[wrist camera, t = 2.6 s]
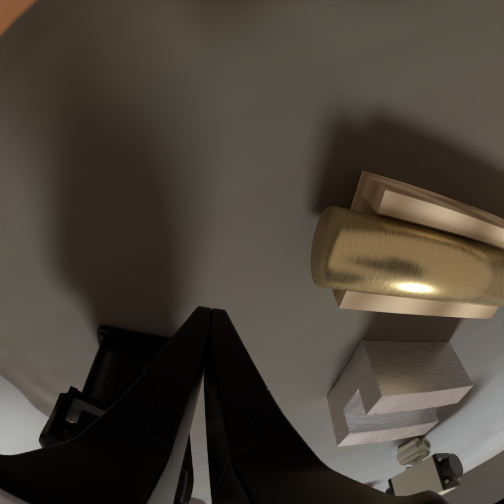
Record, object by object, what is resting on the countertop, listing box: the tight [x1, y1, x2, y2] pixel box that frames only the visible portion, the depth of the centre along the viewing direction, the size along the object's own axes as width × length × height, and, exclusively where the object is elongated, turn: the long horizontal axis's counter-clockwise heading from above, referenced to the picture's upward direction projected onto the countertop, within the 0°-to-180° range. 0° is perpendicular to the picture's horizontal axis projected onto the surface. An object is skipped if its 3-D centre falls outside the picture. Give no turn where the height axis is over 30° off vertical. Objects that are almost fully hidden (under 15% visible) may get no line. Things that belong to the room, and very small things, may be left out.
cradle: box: [327, 340, 473, 446], centre depth 23 cm, size 10×8×6 cm
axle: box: [311, 205, 504, 307], centre depth 16 cm, size 16×4×4 cm, turn 79°
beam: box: [332, 171, 504, 319], centre depth 17 cm, size 14×7×3 cm, turn 79°
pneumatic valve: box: [385, 438, 463, 496], centre depth 32 cm, size 6×12×12 cm, turn 148°
